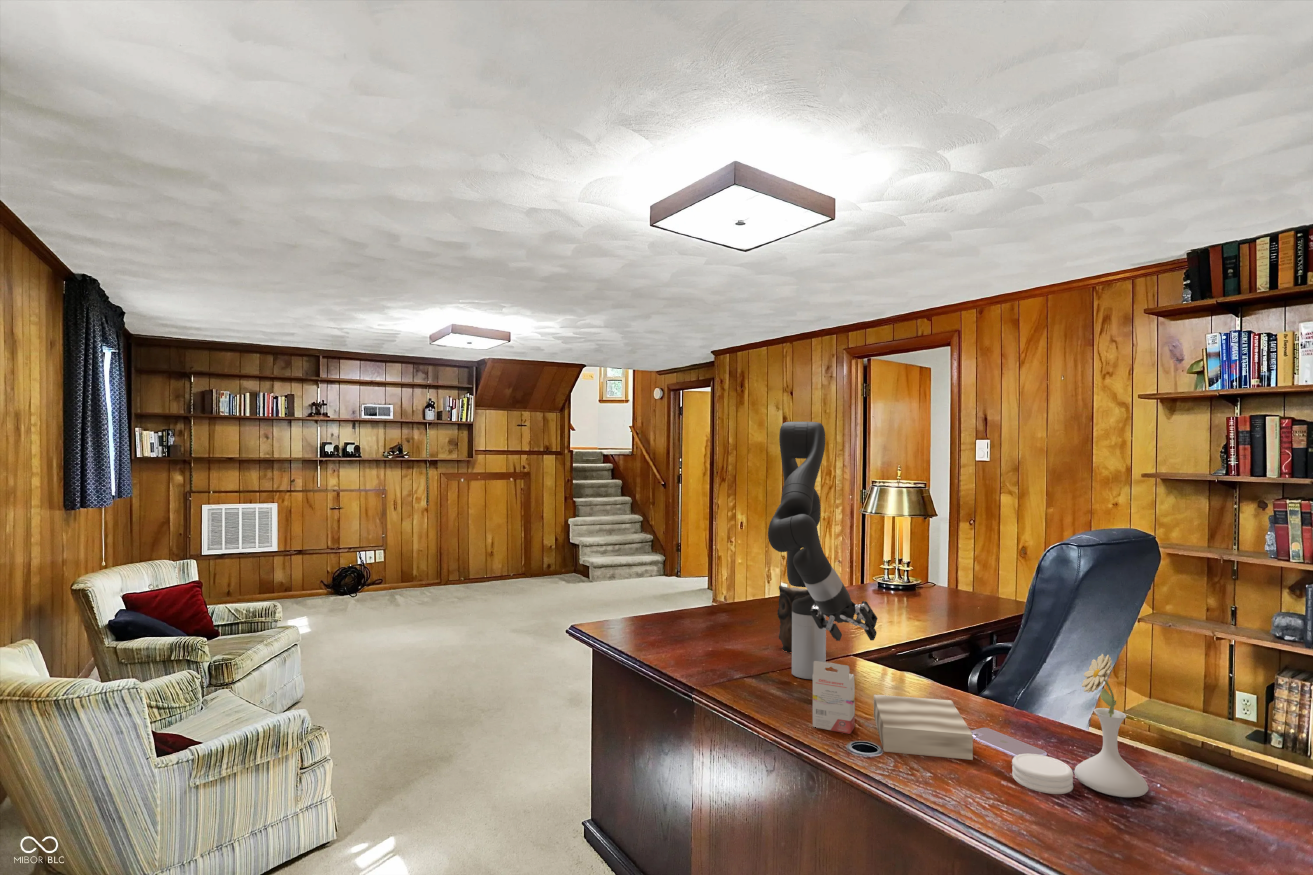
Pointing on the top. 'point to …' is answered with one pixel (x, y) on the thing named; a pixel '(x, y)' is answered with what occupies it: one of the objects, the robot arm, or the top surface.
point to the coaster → (1042, 773)
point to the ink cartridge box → (833, 697)
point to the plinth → (922, 727)
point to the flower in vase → (1108, 744)
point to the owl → (788, 613)
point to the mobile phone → (1005, 742)
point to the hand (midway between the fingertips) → (856, 637)
